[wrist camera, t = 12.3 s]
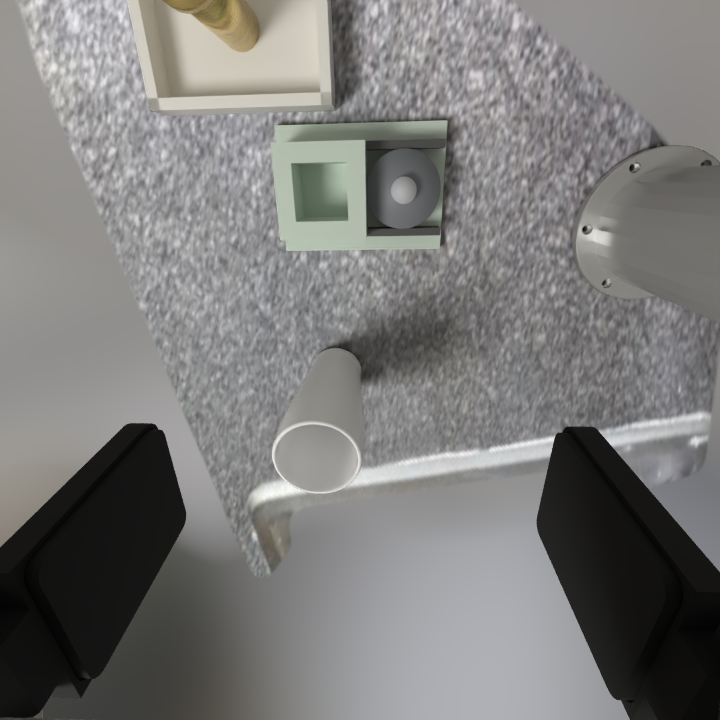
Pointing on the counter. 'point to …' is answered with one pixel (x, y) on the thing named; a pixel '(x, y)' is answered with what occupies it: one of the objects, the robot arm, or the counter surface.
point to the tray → (237, 60)
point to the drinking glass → (323, 426)
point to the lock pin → (224, 20)
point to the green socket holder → (360, 185)
